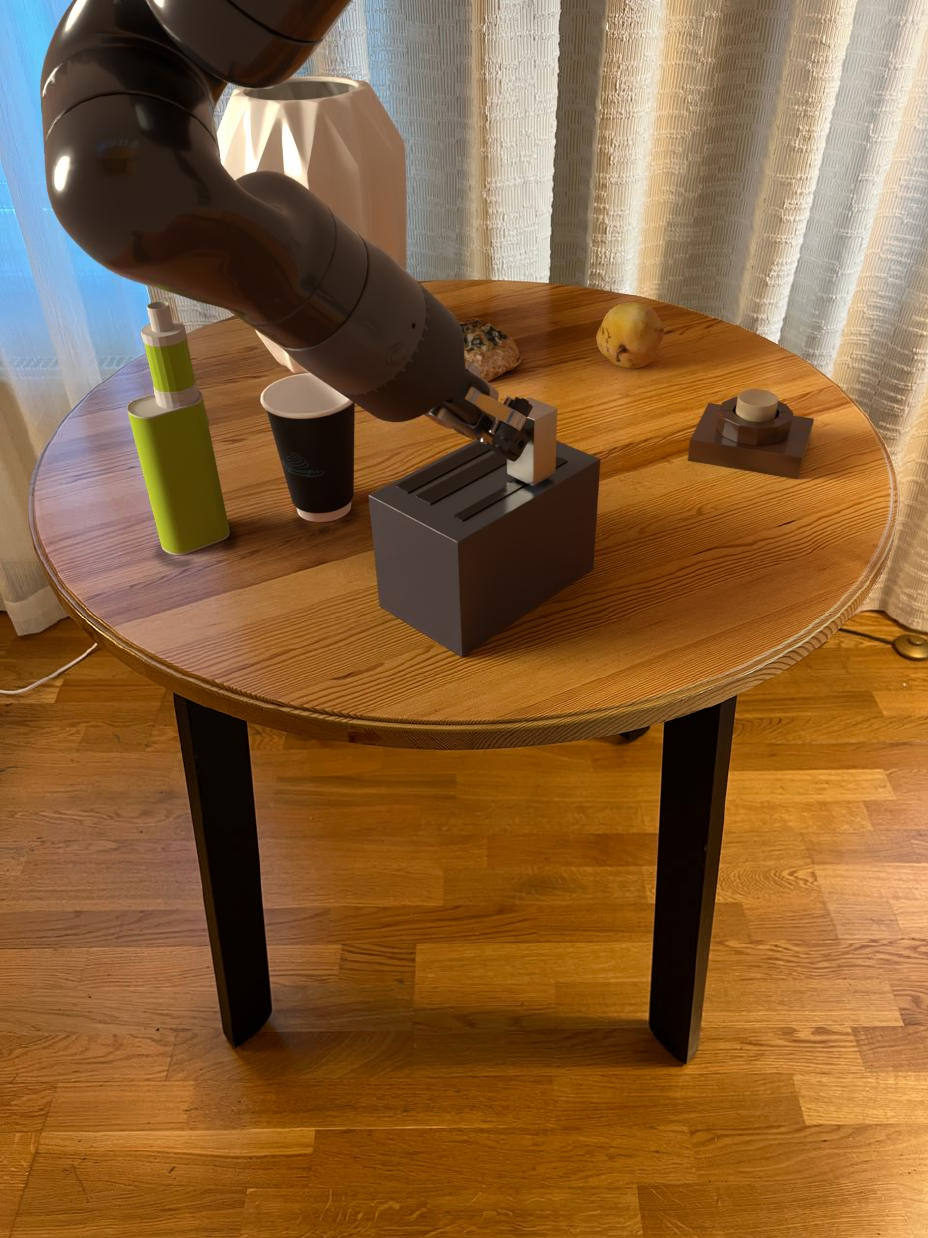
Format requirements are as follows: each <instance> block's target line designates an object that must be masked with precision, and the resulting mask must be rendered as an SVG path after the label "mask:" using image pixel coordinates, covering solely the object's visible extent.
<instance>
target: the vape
mask: <svg viewBox="0 0 928 1238" xmlns="http://www.w3.org/2000/svg"><path fill="white" fill-rule="evenodd" d="M146 311H147V314H148V315H147V316H148V319H149V323H148V324H145V325H144V326H143V327H142V328H141V330H140V334H141V337H142V338H141V339H142V342H143V345H144V349H145V353H146V358H147V363H148V367H149V370H150V376H151V379H152V384H153V388H152V389H153V392H154V393H151V394H147V395H145V396H141V397H137V398H135V399H132V400H131V401H129V402H128V403H127V405H126V411H127V416H128V419H129V424H130V427H131V432H132V435H133V440H134V443H135V447H136V451H137V455H138V459H139V462H140V467H141V470H142V471H141V472H142V475H143V478H144V483H145V486H146V490H147V495H148V498H149V502H150V507H151V510H152V511H151V512H152V514H153V518H154V519H153V520H154V522H155V523H154V524H155V526H156V530H157V534H158V538H159V542H160V546H161V548H162V550H163V551H164V552H166V553H167V554H169V555H174V556H185V555H188V554H191V553H193V552H195V551H198V550H201V549H203V548H206V547H208V546H211V545H215V544H216V543H220V542H222V541H224V540H226V539H228V537H229V536H230V534H231V532H230V531H231V529H230V525H229V520H228V516H227V510H226V506H225V501H224V495H223V491H222V486H221V485H222V484H221V480H220V476H219V470H218V465H217V461H216V455H215V451H214V446H213V439H212V436H211V431H210V426H209V425H210V419H209V416H208V415H209V414H208V413H207V409H206V406H205V405H206V404H205V399H204V396H203V392H202V391H201V390H200V389H199V386H198V382H197V380H196V377H195V373H194V367H193V361H192V357H191V352H190V346H189V342H188V337H187V329H186V325H185V324H184V322H181V321H179V320H173V317H172V311H171V307H170V303H169V301H165V300H164V301H163V300H159V301H153V302H150V303H148V304H147V305H146Z"/></svg>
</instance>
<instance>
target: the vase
mask: <svg viewBox="0 0 928 1238" xmlns="http://www.w3.org/2000/svg"><path fill="white" fill-rule="evenodd" d="M217 129H218V130H217V136H218V143H219V149H220V157H221V161H222V165H223V166H224V168H225V169H226V170H227V172H228V173H229V174H230V175H231V176H232V178H233V179H234V180H236V179H238V178H239V177H241V176H243V175H246V174H248V173H252V172H256V171H266V170H268V171H274V172H279V173H282V174H284V175H286V176H289V177H291V178H293V179H295V180H296V181H298V182H299V183H301V184H302V185H303V186H305V187H306V188H307V189H308V190H310V191H311V192H312V193H313V194H315V195H316V196H317V197H318V198H319V199H321V200H322V201H323V202H324V203H325V204H326V205H327V206H329V207H330V208H331V209H332V210H333V211H334V212H335V213H336V214H337V215H338V216H340V217H341V218H342V219H343V220H344V221H345V222H346V223H347V224H348V225H349V226H351V227H352V228H353V229H354V230H355V231H356V232H357V233H358V234H360V235H361V236H362V237H363V238H365V239H366V240H368V241H370V242H371V243H373V244H374V245H376V246H378V247H379V248H380V249H382V250H383V251H385V252H386V253H387V254H388V255H389V256H391V257H392V258H393V259H394V260H395V261H396V262H397V263H398V264H399V265H400V266H401V267H403V268H404V269H405V270H406V271H407V268H408V267H407V266H408V265H407V264H408V263H407V262H408V261H407V260H408V259H407V258H408V256H407V253H408V252H407V250H408V249H407V248H408V247H407V246H408V245H407V244H408V243H407V242H408V239H407V237H408V236H407V232H408V231H407V227H408V225H407V218H408V217H407V215H408V214H407V211H408V210H407V208H408V207H407V205H408V203H407V197H408V194H407V193H408V191H407V189H408V188H407V187H408V186H407V165H406V164H407V163H406V162H407V161H406V146H405V141H404V139H403V137H402V135H401V133H400V132H399V129H398V128H397V127H396V125H395V123H394V122H393V120H392V118H391V117H390V115H389V113H388V111H387V110H386V108H385V106H384V105H383V103H382V101H381V100H380V99H379V97H378V94H376V92H375V90H374V89H373V87H372V86H371V84H370V83H369V82H367V81H366V80H359V79H352V78H351V77H350V76H347V75H346V76H345V75H343V76H342V75H341V76H335V75H334V76H329V75H324V74H312V75H304V76H294V75H293V76H291V77H290V78H289V79H288V80H286V81H285V82H283V83H281V84H279V85H277V86H274V87H271V88H267V89H248V88H242V87H239V86H238V87H236V88H235V89H233V90H232V93H231V95H230V97H229V99H228V102H227V105H226V108H225V110H224V113H223V115H222V118H221V122H220V124H219V127H218V128H217ZM255 333H256V335H257V336H258V337H259V339H260V341H262V343H263V344H264V346H265V347H266V348H267V351H269V353H270V354H271V355H272V356H273V358H274V359H275V360H276V362H277V363H278V364H280V365H281V366H284V367H287V369H288V370H289V371H290V372H292V373H293V374H296V375H297V374H304V373H310V372H308V371H307V370H305V369H304V368H303V367H301V366H300V365H299V364H298V363H297V362H296V361H295V360H294V359H292V358H291V357H290V356H289V355H288V354H287V353H286V352H285V351H284V350H283V349H282V348H281V347H279V346H278V345H277V344H275V343H274V342H273V341H271V340H270V339H268V338H267V337H265V336H264V335H262V334H261V333H259V332H258V331H257V330H255Z"/></svg>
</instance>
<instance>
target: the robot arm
mask: <svg viewBox="0 0 928 1238" xmlns="http://www.w3.org/2000/svg"><path fill="white" fill-rule="evenodd" d="M353 1H354V0H71V2H70V3H69V6H68V7H67V8H66V10H65V11H64V13H63V15H62V16H61V19H60V20H59V22H58V24H57V26H56V28H55V30H54V32H53V35H52V37H51V40H50V41H49V45H48V46H47V50H46V53H45V55H44V60H43V63H42V64H43V65H42V68H41V73H40V83H39V95H40V96H39V97H40V110H41V122H42V125H41V127H42V139H43V140H42V141H43V142H42V143H43V154H44V175H45V184H46V192H47V196H48V199H49V203H50V206H51V209H52V211H53V213H54V215H55V217H56V219H57V220H58V222H59V224H60V225H61V227H62V228H63V230H64V231H65V233H66V234H67V235H68V236H69V237H70V238H71V239H72V240H73V241H74V243H75V244H76V245H77V246H78V247H79V248H80V249H81V250H82V251H83V252H84V253H85V254H86V255H87V256H88V257H90V258H91V259H92V260H94V261H95V262H96V263H97V264H99V265H100V266H102V267H103V268H105V269H106V270H108V271H109V272H111V273H113V274H115V275H117V276H119V277H122V278H124V279H126V280H130V281H132V282H134V283H137V284H140V285H144V286H148V287H151V288H154V289H157V290H160V291H162V292H163V291H164V292H167V293H170V294H173V295H177V296H179V297H183V298H186V299H189V300H192V301H195V302H198V303H201V304H205V305H210V306H213V307H217V308H219V309H220V308H221V309H224V310H226V311H228V312H229V313H231V314H232V315H234V316H235V317H236V318H238V319H239V320H240V321H242V322H244V323H245V324H246V325H248V326H249V327H251V328H252V329H254V330H255V331H256V330H257V331H258V332H259V333H261V334H262V335H264V336H265V337H267V338H268V339H270V340H271V341H273V342H274V343H275V344H277V345H278V346H279V347H281V348H282V349H283V350H284V351H285V352H286V353H287V354H288V355H289V356H290V357H291V358H292V359H294V360H295V361H296V362H297V363H298V364H299V365H300V366H301V367H303V368H304V369H305V370H307V371H308V372H310V373H311V374H313V375H314V376H316V377H317V378H318V379H320V380H321V381H323V382H324V383H326V384H327V385H329V386H330V387H332V388H333V389H335V390H336V391H338V392H339V393H340V394H342V395H343V396H345V397H346V398H348V399H349V400H351V401H352V402H354V403H355V405H357V406H358V407H359V408H361V409H362V410H364V411H365V412H367V413H368V414H370V415H371V416H373V417H375V418H376V419H378V420H381V421H384V422H389V423H404V422H405V423H406V422H408V421H412V420H415V419H417V418H420V417H422V416H425V417H426V418H428V419H429V420H430V421H432V422H434V423H435V424H437V425H439V426H441V427H443V428H446V429H448V430H453V431H455V432H456V433H458V434H460V435H462V436H464V437H466V438H468V439H471V440H473V441H475V440H476V439H477V440H479V441H480V442H481V443H482V444H484V445H485V446H487V447H488V448H489V449H491V450H492V451H493V452H495V453H496V454H497V455H500V456H502V457H504V458H506V459H509V460H511V461H513V462H514V461H516V460H517V459H518V458H520V456H521V454H522V452H523V451H524V449H525V447H526V445H527V443H528V441H529V434H528V433H527V432H526V431H525V430H524V429H523V428H522V427H523V425H524V423H525V421H526V419H527V418H528V416H529V414H530V412H531V410H532V408H533V406H532V405H531V404H529V401H528V400H526V399H527V398H524V397H521V398H520V397H517V396H515V397H514V398H513V397H511V396H509V395H508V396H506V397H505V399H504V401H503V402H500V401H499V397H500V394H499V393H500V392H499V391H498V390H497V388H495V387H494V386H493V385H492V384H491V383H490V382H489V381H488V382H487V381H486V380H485V379H484V378H483V377H482V376H481V370H480V369H479V368H478V367H477V366H476V365H475V364H473V363H472V362H471V361H469V360H467V359H465V355H464V337H463V332H462V329H461V326H460V324H459V323H460V322H459V320H458V319H457V317H456V315H454V313H453V312H452V311H451V310H450V309H449V308H448V307H447V306H445V305H444V304H443V303H442V302H441V301H440V300H439V299H438V298H437V297H435V296H434V294H432V293H431V292H430V291H429V290H428V289H427V288H426V287H424V286H423V285H422V284H421V283H420V282H419V281H418V280H417V279H416V278H415V277H413V276H412V274H410V273H409V272H408V271H407V269H406V270H405V269H404V268H403V267H401V266H400V265H399V264H398V263H397V262H396V261H395V260H394V259H393V258H392V257H391V256H389V255H388V254H387V253H386V252H385V251H383V250H382V249H380V248H379V247H378V246H376V245H374V244H373V243H371V242H370V241H368V240H366V239H365V238H363V237H362V236H361V235H360V234H358V233H357V232H356V231H355V230H354V229H353V228H352V227H351V226H349V225H348V224H347V223H346V222H345V221H344V220H343V219H342V218H341V217H340V216H338V215H337V214H336V213H335V212H334V211H333V210H332V209H331V208H330V207H329V206H327V205H326V204H325V203H324V202H323V201H322V200H321V199H319V198H318V197H317V196H316V195H315V194H313V193H312V192H311V191H310V190H308V189H307V188H306V187H305V186H303V185H302V184H301V183H299V182H298V181H296V180H295V179H293V178H291V177H289V176H286V175H284V174H282V173H279V172H274V171H268V170H266V171H256V172H252V173H248V174H246V175H243V176H241V177H239V178H238V179H236V180H234V179H233V178H232V176H231V175H230V174H229V173H228V172H227V170H226V169H225V168H224V166H223V165H222V161H221V157H220V149H219V143H218V136H217V132H218V130H217V124H216V118H215V111H216V109H217V106H218V104H219V102H220V99H221V98H222V95H223V94H224V92H225V90H226V88H227V87H228V85H229V84H230V85H233V86H236V87H238V88H239V87H242V88H248V89H267V88H271V87H274V86H277V85H279V84H281V83H283V82H285V81H286V80H288V79H289V78H290V77H291V76H293V77H294V75H295V74H296V73H297V72H298V71H299V70H300V69H301V68H302V67H303V66H304V65H305V64H306V63H307V62H308V60H309V59H310V58H311V57H312V55H314V53H315V52H316V50H317V49H318V48H319V46H320V45H321V43H322V42H323V41H324V39H325V38H326V37H327V36H328V34H329V33H330V32H331V31H332V30H333V28H334V26H335V25H336V24H337V23H338V21H339V20H340V19H341V17H342V16H343V15H344V13H345V11H346V10H347V9H348V8H349V6H350V5H351V3H352V2H353Z"/></svg>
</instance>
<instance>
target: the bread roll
mask: <svg viewBox="0 0 928 1238" xmlns="http://www.w3.org/2000/svg"><path fill="white" fill-rule="evenodd" d="M459 324H460V326H461V329H462V332H463V337H464V355H465V359H467V360H469V361H471V362H472V363H473V364H475V365H476V366H477V367H478V368H479V369H480V370H481V376H482V377H483V378H484V379H485V380H486V381H487V382H488V383H489V382H491V381H492V380H494V379H495V380H496V378H498V377H500V376H502V375H503V374H504V373H506V372H508V371H511V370H515V368H517V366H519V365H520V364H521V361H522V360H523V356H522V355H521V354H520V351H519V347H518V346H517V344H516V342H515V341H514V340H513V339H512V338H511V337H510V335H509V336H508V334H507V333H505V332H504V331H503V330H502V329H500V328H495V327H494V326H493V325H492V323H490V322H488V321H486V322H485V323H483V324H482V323H481V320H480V319H478V318H474V319H473V320H471V321H469V322H468V321H467V322H465V321H460V322H459Z"/></svg>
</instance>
